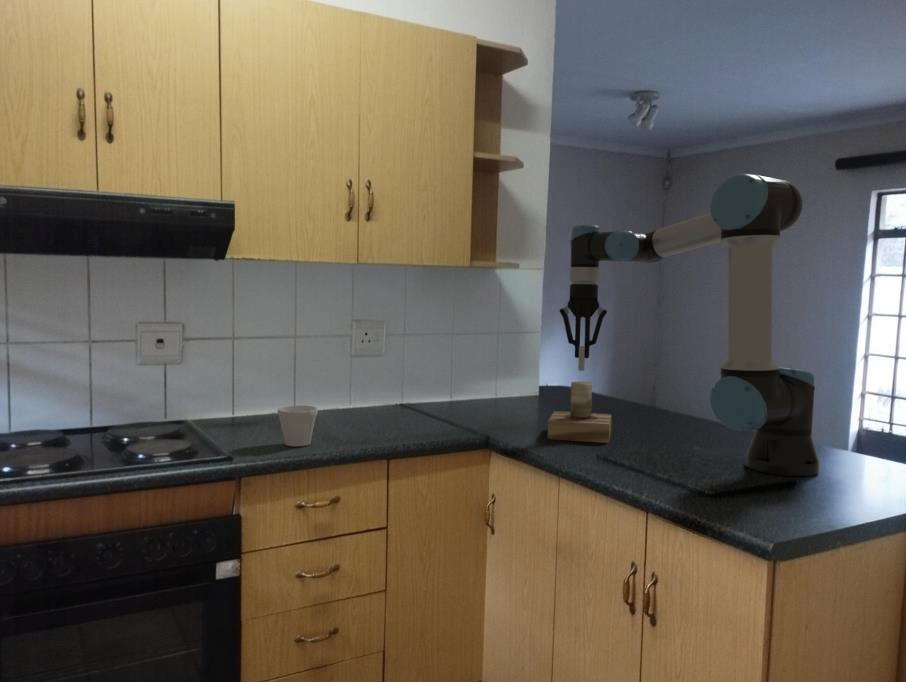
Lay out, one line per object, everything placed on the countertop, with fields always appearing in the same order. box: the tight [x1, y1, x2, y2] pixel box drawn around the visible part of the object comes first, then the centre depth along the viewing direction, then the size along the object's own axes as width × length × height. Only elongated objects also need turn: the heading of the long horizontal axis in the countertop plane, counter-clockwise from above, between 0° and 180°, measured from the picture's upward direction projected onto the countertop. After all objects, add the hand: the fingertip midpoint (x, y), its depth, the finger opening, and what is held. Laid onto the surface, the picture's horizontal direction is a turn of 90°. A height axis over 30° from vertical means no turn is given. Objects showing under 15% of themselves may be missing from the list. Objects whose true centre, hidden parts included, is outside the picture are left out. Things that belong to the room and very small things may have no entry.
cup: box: [277, 405, 319, 448], centre depth 180 cm, size 10×10×9 cm
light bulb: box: [570, 381, 593, 419], centre depth 195 cm, size 6×6×14 cm
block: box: [547, 410, 612, 444], centre depth 195 cm, size 15×16×5 cm
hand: (581, 370), depth 194 cm, fingers closed
